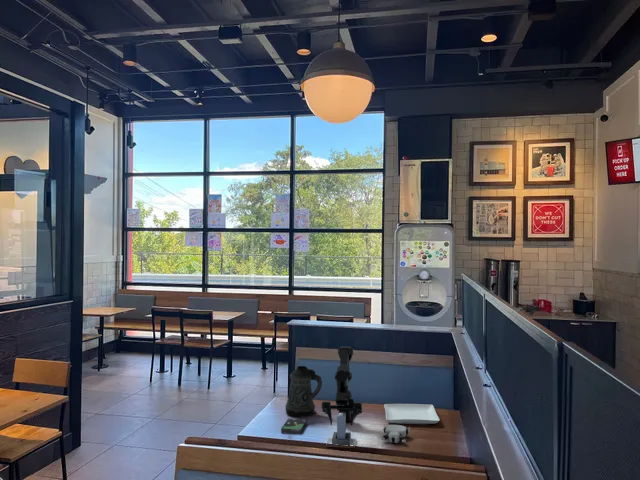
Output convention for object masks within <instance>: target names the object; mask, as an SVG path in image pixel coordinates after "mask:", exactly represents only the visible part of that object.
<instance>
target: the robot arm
mask: <svg viewBox="0 0 640 480" xmlns="http://www.w3.org/2000/svg"><path fill="white" fill-rule="evenodd" d="M337 355H338V356H339V361H340V362H339V365H338V366H337V368H336V371H335V374H334V380H335V381H336V382H335V383H336V392H335V393H336V394H335V404H331V403H332V402H331V401H325V400H324V401H322V402H321V411H322V413H324V414H325V415H327V417H328V420H329V424H330V425H333V418H332V410H336V411H338V412H339V413H346V424H350V426H352V425H353V424H354V422H355V419H356V418H357V416H359V415H360V414H363V403H362V402H359V401H358V402H357V401H354V398H353V396H352V391H350V381H351V380H352V379H353V373H352V372H351V371H350V370H351V369H350V363H351V362H352V360H353V356H354V347H352V346H340V347H337Z"/></svg>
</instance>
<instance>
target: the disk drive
mask: <svg viewBox="0 0 640 480" xmlns="http://www.w3.org/2000/svg"><path fill="white" fill-rule="evenodd" d="M307 425H308V419H303V418H302V419H300V418H296V419H293V418H287V420H286V421H285V422H284V424H283V425H282V427H281V428H280V434H295V435H301V434H302V433H303V432H304V430H305V428H306V427H307Z"/></svg>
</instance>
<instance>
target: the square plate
mask: <svg viewBox="0 0 640 480" xmlns="http://www.w3.org/2000/svg"><path fill="white" fill-rule="evenodd" d="M383 407H384V411H385V421H386V422H388V423H390V424H397V425H400V424H401V425H403V424H404V425H405V424H406V425H408V424H409V425H431V424H432V425H433V424H437V423H438V422H439V421H440V417H439V416H438V414H437V412H436V409H435V406H434V405H433V404H428V403H427V404H423V403H422V404H421V403H385V404H384V405H383Z"/></svg>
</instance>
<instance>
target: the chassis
mask: <svg viewBox="0 0 640 480" xmlns="http://www.w3.org/2000/svg"><path fill="white" fill-rule="evenodd" d="M327 443H332V444H338V445H348V446H350V445H353V446H357V438H352V432H347V431H346V439H337V431H333V434H332V437H328V439H327ZM327 443H326V444H327Z"/></svg>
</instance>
